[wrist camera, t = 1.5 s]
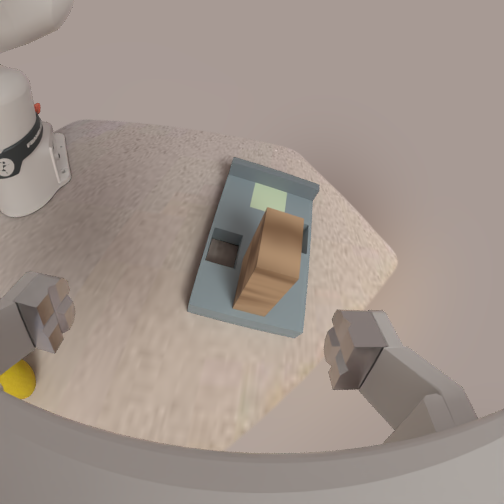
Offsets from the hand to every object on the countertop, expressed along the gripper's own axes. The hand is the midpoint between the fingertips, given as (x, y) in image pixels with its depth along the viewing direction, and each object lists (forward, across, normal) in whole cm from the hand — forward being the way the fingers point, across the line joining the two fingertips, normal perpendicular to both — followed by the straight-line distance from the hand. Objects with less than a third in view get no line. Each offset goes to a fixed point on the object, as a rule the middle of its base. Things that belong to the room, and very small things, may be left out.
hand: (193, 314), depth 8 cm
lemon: (+10, +26, +27) cm, 38 cm away
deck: (+36, -5, +17) cm, 40 cm away
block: (+28, -4, +18) cm, 34 cm away
